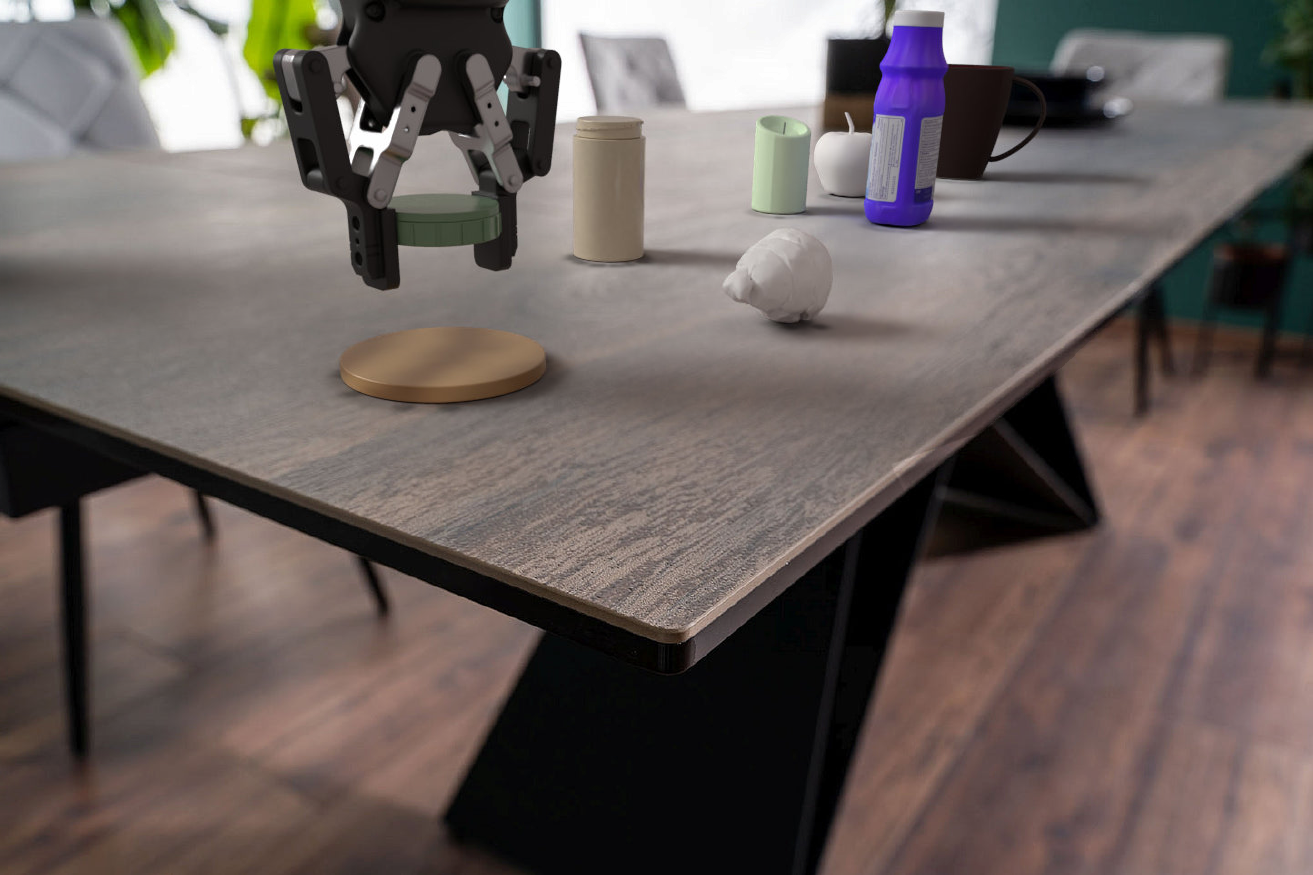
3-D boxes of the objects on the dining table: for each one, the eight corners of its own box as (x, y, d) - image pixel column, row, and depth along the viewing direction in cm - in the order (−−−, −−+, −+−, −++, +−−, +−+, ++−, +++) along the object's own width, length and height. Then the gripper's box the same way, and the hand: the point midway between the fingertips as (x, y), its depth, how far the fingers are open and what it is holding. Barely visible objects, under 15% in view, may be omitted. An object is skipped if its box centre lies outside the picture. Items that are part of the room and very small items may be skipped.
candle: (815, 212, 99) (822, 119, 96) (766, 215, 97) (772, 120, 94) (789, 204, 103) (795, 114, 100) (742, 206, 101) (746, 115, 98)
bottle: (876, 212, 100) (896, 10, 93) (938, 218, 97) (962, 11, 91) (854, 224, 94) (873, 9, 87) (919, 231, 91) (944, 10, 85)
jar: (574, 261, 77) (573, 121, 74) (572, 247, 82) (571, 114, 79) (646, 262, 78) (649, 122, 74) (640, 247, 83) (642, 115, 79)
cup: (915, 168, 130) (927, 62, 126) (1036, 175, 126) (1052, 67, 121) (905, 178, 121) (918, 65, 117) (1035, 187, 117) (1052, 71, 113)
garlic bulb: (697, 322, 63) (700, 229, 61) (769, 307, 66) (775, 218, 64) (763, 344, 59) (769, 245, 57) (836, 327, 63) (845, 233, 61)
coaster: (315, 400, 49) (313, 384, 49) (369, 338, 58) (368, 324, 58) (535, 405, 49) (535, 388, 49) (554, 342, 58) (553, 328, 58)
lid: (525, 236, 51) (525, 204, 51) (420, 253, 47) (418, 218, 47) (453, 219, 55) (451, 189, 54) (349, 233, 51) (347, 201, 50)
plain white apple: (816, 187, 113) (822, 108, 110) (884, 191, 112) (892, 111, 109) (806, 197, 107) (812, 113, 104) (878, 202, 105) (887, 117, 102)
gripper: (306, -140, 39) (346, 318, 45) (603, -104, 48) (603, 269, 54) (214, -125, 43) (261, 286, 50) (500, -95, 53) (510, 246, 59)
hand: (439, 275), depth 52 cm, fingers closed on lid, 5 cm apart
